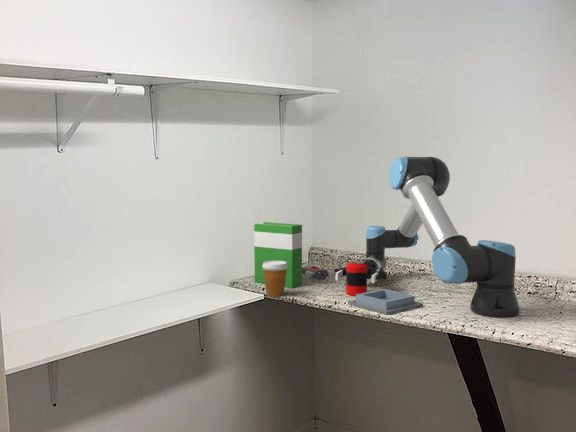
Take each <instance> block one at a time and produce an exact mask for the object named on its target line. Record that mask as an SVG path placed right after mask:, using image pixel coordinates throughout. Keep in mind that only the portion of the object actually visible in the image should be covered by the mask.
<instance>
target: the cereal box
mask: <svg viewBox="0 0 576 432" xmlns="http://www.w3.org/2000/svg"><path fill="white" fill-rule="evenodd" d="M253 225H254V226H253V227H254V228H253V229H254V230H253V232H254V233H253V237H254V239H253V240H254V241H253V242H254V243H253V244H254V246H253V247H254V250H253V252H254V284H255V283H261V284H260V285H263V284H265V277H264V269H263V267H262V266H263V263H264V262H266V261H285V262H287V265H288V267H287V271H286V280H285V287H286V289H295V288H297V287H301V286H302V285H303V274H302V267H303V224H298V223H297V224H296V223H282V222H281V223H280V222H270V221H269V222H266V221H264V222H263V224H262V223H254V224H253Z"/></svg>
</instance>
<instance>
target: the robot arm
mask: <svg viewBox="0 0 576 432" xmlns="http://www.w3.org/2000/svg"><path fill="white" fill-rule="evenodd" d="M450 178H451V176H450V170H449V168H448V165H447V164H446V163H445V161H443V160H442V159H440V158H438V157H436V156H435V157H434V156H400V157H399V156H398V157H396V158H395V159H394V160H393V161H392V162H391V165H390V167H389V175H388V181H389V186H390V187H391V188H392V189H393V190H397V191H398V190H400V191H401V193H402V196H404V198H405V199H407V200H410V201H411V205H410V207H409V208H408V210H407V212H406V214H405V216H404V217H403V219H402V221H401V222H400V224H399V226H398V228H397V229H386V228H385V226H384V225H369V226H367V227H366V233H365V245H366V246H365V248H366V249H365V250H366V251H365V252H366V253H365V259H363V260H362V261H363V262H364V263H365V264H366V265H367V280H370V279H371V284H375V283H376V282H377V281H380V280H385V281H387V278H388V276H387V275H388V272H387V271H385V268H386V266H387V258H386V257H385V255H386V253H385V251H386V249H401V248H403V249H404V248H413V247H415V246H416V244H418V243H417V240H418V241H419V234H418V235H417V233H418V231H419V229H420V228H421V227H422V225H423V227H424V228H425V230H426V232H427V234H428V236H429V237H430V239H431V241H432V243H433V245H434V248H433V254H432V256H431V263H432V269H433V272H434V274H435V276H436V277H437V278H438V280H440V281H441V282H442V283H445V284H448V285H449V284H450V285H451V284H453V285H460V284H463V283H464V284H465V283H476V287H475V291H474V293H473V296H472V299H471V302H470V311H471V312H472V313H474V314H477V315H481V316H487V317H493V318H494V317H495V318H510V317H516V316H518V315H520V305H519V302H518V298H517V295H516V292H515V276H516V272H515V271H516V260H517V257H516V248H515V245H513V244H512V243H511V244H510V243H507V242H506V243H505V242H501V241H495V240H485V239H480V240H478V241H477V244H476V245H471V243H470V242H469V240H468V238H467V237H466V236H465V235H463V234H459V232H458V231H457V228H456V227H455V225H454V224H453V222H452V220H451V218H450V217H449V215H448V213H447V211H446V209H445V208H444V206H443V204H442V202H441V200H440V199H439V197H442V196H443V195H444V194H445V193H446V192H447V190H448V188H449V185H450V180H451V179H450ZM414 245H415V246H414ZM412 246H413V247H412ZM333 270H334V271H333V272H334V273H333V274H334V276H335V281H339V280H341V279H342V278H343V277H346V266H345V267H344V266H343V267H340V268H334V269H333Z"/></svg>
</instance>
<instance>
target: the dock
mask: <svg viewBox="0 0 576 432" xmlns="http://www.w3.org/2000/svg"><path fill="white" fill-rule="evenodd" d="M415 300H416V298H415V295H414V294H413V295H412V294H407V293H403V292H400V291H395V290H391V289H387V288H382V289H381V288H380V289H377V290H373V291H367V292H366V293H361V294H356V296H355V299H353V300H349V301H347V305H349V306H352V307H356V308H360V309H364V310H367V311H371V312H374V313H378V314H382V315H385V316H388V315H392V314H396V313H400V312H405V311H409V310H413V309H418V308H422V307H424V303H423V302H421V301H419V300H417V301H415Z"/></svg>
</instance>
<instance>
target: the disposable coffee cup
mask: <svg viewBox="0 0 576 432" xmlns="http://www.w3.org/2000/svg"><path fill="white" fill-rule="evenodd" d="M262 267H263V269H264V277H265V285H264V286H265V293H266V296H268V297H275V298H277V297H283V296H284V294H285V280H286V271H287V267H288V265H287V262H285V261H266V262H264V263H263V266H262Z"/></svg>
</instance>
